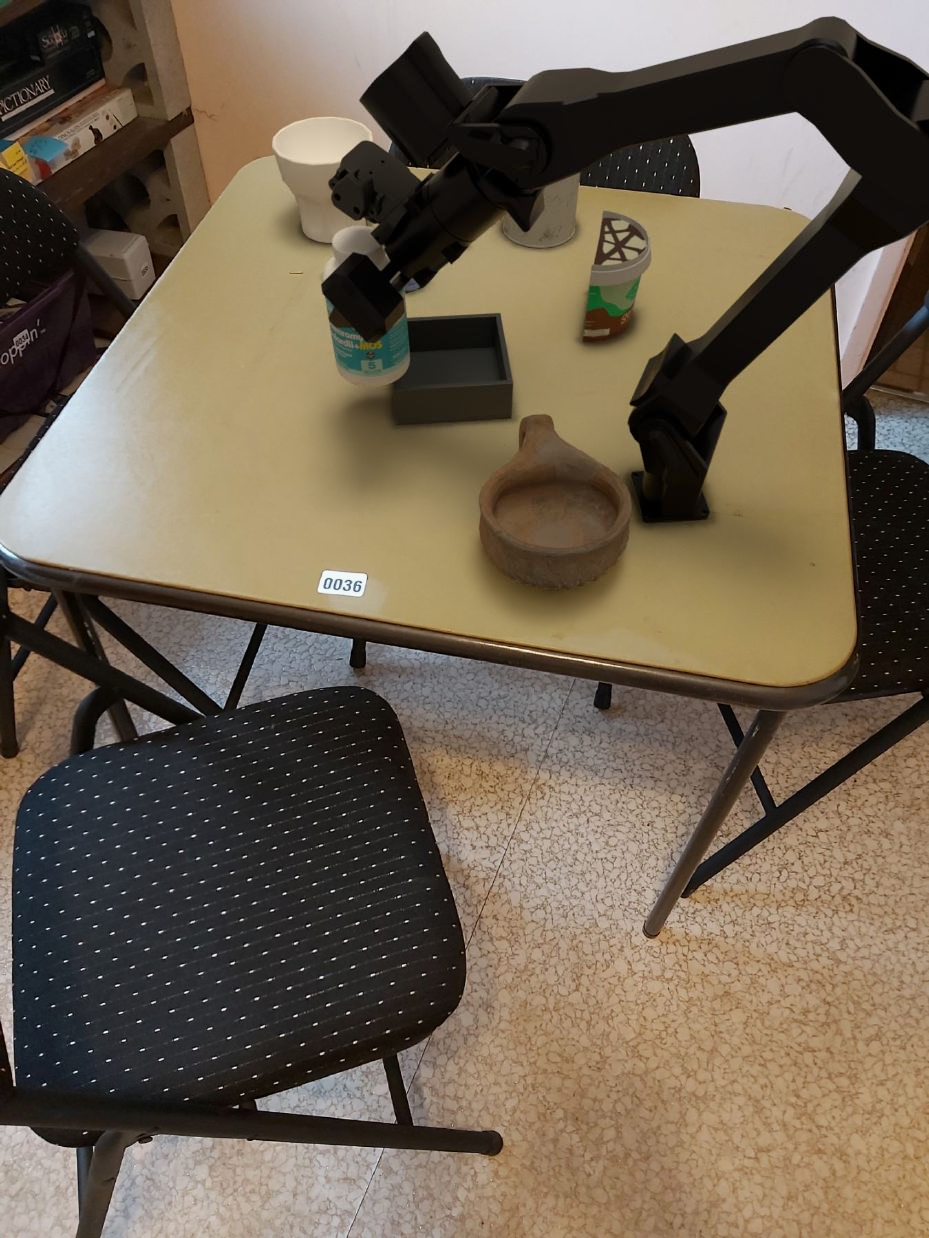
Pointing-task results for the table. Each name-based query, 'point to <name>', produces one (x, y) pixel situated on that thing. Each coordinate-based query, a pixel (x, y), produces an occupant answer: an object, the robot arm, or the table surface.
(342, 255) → the pill bottle
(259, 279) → the table surface
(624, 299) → the food container
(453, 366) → the dark gray square tray
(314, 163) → the cup
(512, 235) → the marbled stone cylinder
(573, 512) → the bowl
